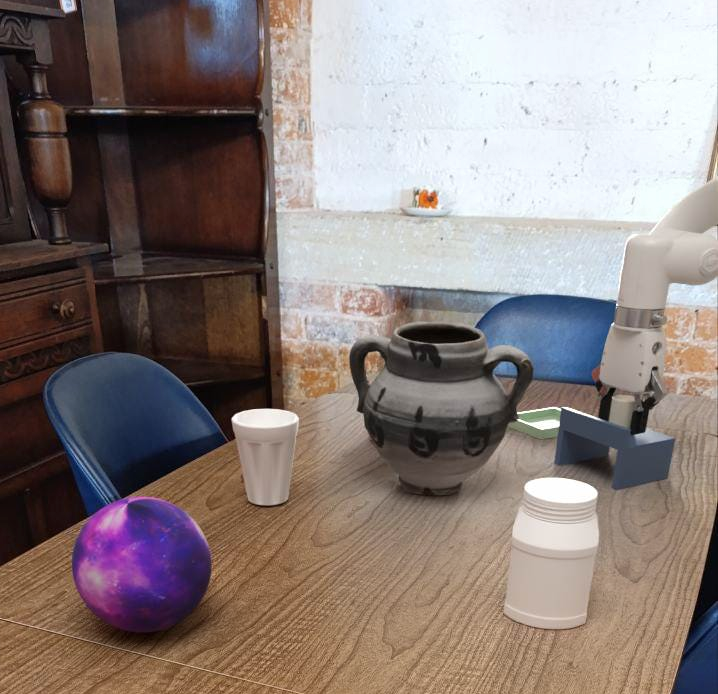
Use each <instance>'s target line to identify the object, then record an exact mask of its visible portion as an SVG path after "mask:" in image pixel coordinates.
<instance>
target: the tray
mask: <svg viewBox="0 0 718 694" xmlns="http://www.w3.org/2000/svg"><path fill="white" fill-rule="evenodd" d="M517 413H518V415H519V419H518V420H517V421H516V422H514V423H509V424H508V427H507V428H510V429H513V430H516V431H518V432H520V433H523V434H526V435H528V436H531V437H532V438H536V439H538V440H547V439H552V438H558V430H559V422H560V414H561V408H558V407H557V406H551V407H546V408H540V409H534V410H527V411H521V412H517Z"/></svg>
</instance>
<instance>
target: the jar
mask: <svg viewBox="0 0 718 694" xmlns="http://www.w3.org/2000/svg"><path fill="white" fill-rule="evenodd" d="M598 497H599V493H598V490H597V489H596V488H595V487H594V486H592V485H590V484H588V483H586V482H582V481H579V480H575V479H571V478H563V477H541V478H536V479H532V480H530V481H528V482H526V483H525V484H524V486H523V493H522V502H521V505H520V506H519V507H518V508H517V509H516V510H515V513H514V514H515V516H514V523H513V525H512V532H511V539H510V545H511V547H510V555H509V563H508V574H507V582H506V591H505V599H504V604H503V610H502V611H503V612H502V613H503V614H504V615H505V616H506V617H507V618H509V619H510V620H512V621H514V622H517V623H519V624H520V625H521V624H522V625H524V626H527V627H532V628H535V629H544V630H568V629H572V628H577V627H580V626H582V625H585V624H586V622H587V617H588V606H589V602H590V601H589V600H590V596H591V595H590V594H591V588H592V582H593V576H594V570H595V564H596V557H597V554H598V549H599V540H600V531H599V517H598V515H597V513H596V512H597V511H596V509H597V501H598Z"/></svg>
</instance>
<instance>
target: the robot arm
mask: <svg viewBox="0 0 718 694" xmlns="http://www.w3.org/2000/svg"><path fill="white" fill-rule="evenodd" d="M716 226H718V175H717V176H715V177H713V178H712V179H710V180H709V181H707V182H706V183H704V184H703V185H700V186H699V187H698V188H696V189H694V190H693V191H691V192H690V193H688V194H686V195H685V196H683V197H682V199H680V200H679V201H677V202H676V203H675V204H674V205H673V206H672V207H671V208H670V209H669V210H668V211H667V212H666V213H665V214H664V215H663V217H661V219H660V220H659V221H658V222H657V224H655V226H654V227H653V228H652V230H651V231H650V232H649V233H636V234H632V235H630V236H629V237H628V238H627V240H626V242H625V246H624V251H623V256H622V264H621V270H620V276H619V284H618V291H617V298H616V305H615V310H614V317H613V323H611V325H610V327H609V330H608V333H607V336H606V340H605V344H604V348H603V351H602V356H601V360H600V361H601V362H600V363H599V365H597V366H596V367H595V368H594V369H593V370H591V377H592V379H593V381H594V386H595V389H596V391H597V393H598V394H597V398H598V400H599V401H600V402H599V407H598V416H597V418H600V419H602V420H605V421H608V420H609V414H610V407H611V401H612V397H613V396H615V395H617V392H618V391H619V390H621V391H624V392H627V393H631V394H633V396H634V398H635V404H636V409H637V410H634V411H633V413H632V419H631V425H630V429H631V432H630V434H631V435H636V434H641V433H645V431H646V428H647V425H648V420H649V414H650V411H652V410H653V409H654V407H656V406H657V405H658V404H660V402H661V401H662V400H663V399H664V398H665V397H666V396H667V395H668V394H669V390H668V388H667V386H666V385H665V383H664V381H663V380H664V373H665V365H666V353H667V334H666V329H662V328H663V326H664V325H666V324H667V322H668V316H666V315H665V312H666V306H667V305H666V304H667V300H668V294H669V289H670V285H671V284H679V285H686V286H703V285H706V284H708V283H711V282H713V281H714V280H715V279H716V278H717V277H718V238H716V237H715V236H713V235H710V234H707V233H705V232H707V231H709V230H711V229H712V228H714V227H716ZM652 392H653V393H652ZM643 397H644V398H643Z"/></svg>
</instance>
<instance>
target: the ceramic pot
mask: <svg viewBox="0 0 718 694" xmlns="http://www.w3.org/2000/svg"><path fill="white" fill-rule="evenodd" d="M374 352H378V353H379V354H380V357H381V358H382V359H383V360H384V365H383V368H381V370H380V371H379V373H378V374H377V376H376V377H375V378H374V380H373V381H372V382H371V383H370V381H369V380H368V377H367V369H366V358H367V356H368V354H369V353H374ZM501 363H512V364H513V365H514V367H515V370H516V378H515V382H514V384H513V386H512V389H511V391H510V392H509V394H508V395H507V393H506V390H505V388H504V386H503V384H502V382H501V381H500V380H499V379H498V378H497V376H496V375H495V374H494V371H495V369H496V368H497V367H498V366H499V365H500V364H501ZM534 369H535V368H534V365H533V362H532V360H531V358H530V357H529V356H528V354H526V352H524V351H523V350H521V349H519V348H517V347H515V346H513V345H507V344H505V345H502V344H499V345H496V346H492V347H491V348H489V345H488V342H487V339H486V336H485V333H484V332H483V331H482V330H481V329H478V328H477V327H474V326H471V325H467V324H464V323H458V322H453V321H416V322H408V323H406V324H403V325H400V326H399V327H397V328H395V329H394V330H393V333H392V336H391V338H389V337H386V336H382V335H377V334H367V335H365V336H363V337H360V338H358V339H357V340H356V341H355V342H354V343H353V345H352V346H351V348H350V351H349V370H350V374H351V379H352V382H353V384H354V386H355V389H356V392H357V397H358V402H357V408H356V412H358V413H360V414H363V416H362V417H363V423H364V428H365V430H366V431H367V434H368V435H369V436H368V437H370V440H371V442H372V444H373V446H374V447H375V449H376V451H377V453H378V454H379V457H381V459H383V461H384V462H385V464H386V465H387V466H388V467H389V468H390V469H391V471H392V472H394V473H395V474H396V475H397V476H398V480H399V483H400V486H401V487H402V489H403V490H404V491H406V492H408V493H411V494H414V495H422V496H446V495H451V494H454V493H456V492H458V491H459V490H460V489H461V488H462V485H463V481H465V480H466V479H468V478H469V477H470V476H472V475H473V474H475V473H477V472H478V471H479V470H480V469H481V468H482V467H484V465H486V463H487V462H488V461H489V460H490V459H491V457H492V456H493V455H494V453H495V451H496V450H497V449H498V447H500V444H501V442H502V441H503V439H504V437H505V436H506V432H507V429H508V428H509V427H508V424H509V423H514V422H516V421H517V420H518V419H519V415H518V413H519V412H518V411H517V407H518V405H519V404H520V402H521V400H523V397H524V395H525V393H526V392H527V390H528V388H529V386H530V385H531V383H532V381H533V377H534Z"/></svg>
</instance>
